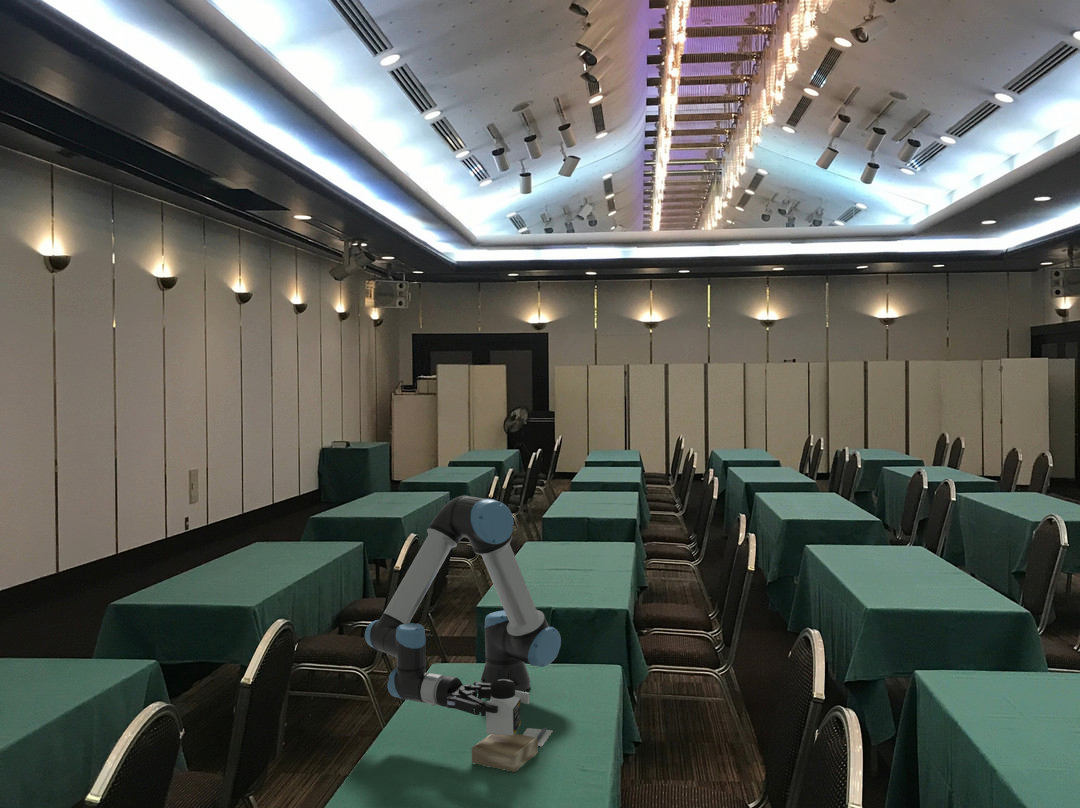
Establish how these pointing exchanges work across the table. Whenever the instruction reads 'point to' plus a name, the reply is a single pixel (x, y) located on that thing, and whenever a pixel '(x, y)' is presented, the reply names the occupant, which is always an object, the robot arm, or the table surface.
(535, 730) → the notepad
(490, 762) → the beech tray
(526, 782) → the table surface
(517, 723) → the medicine bottle
